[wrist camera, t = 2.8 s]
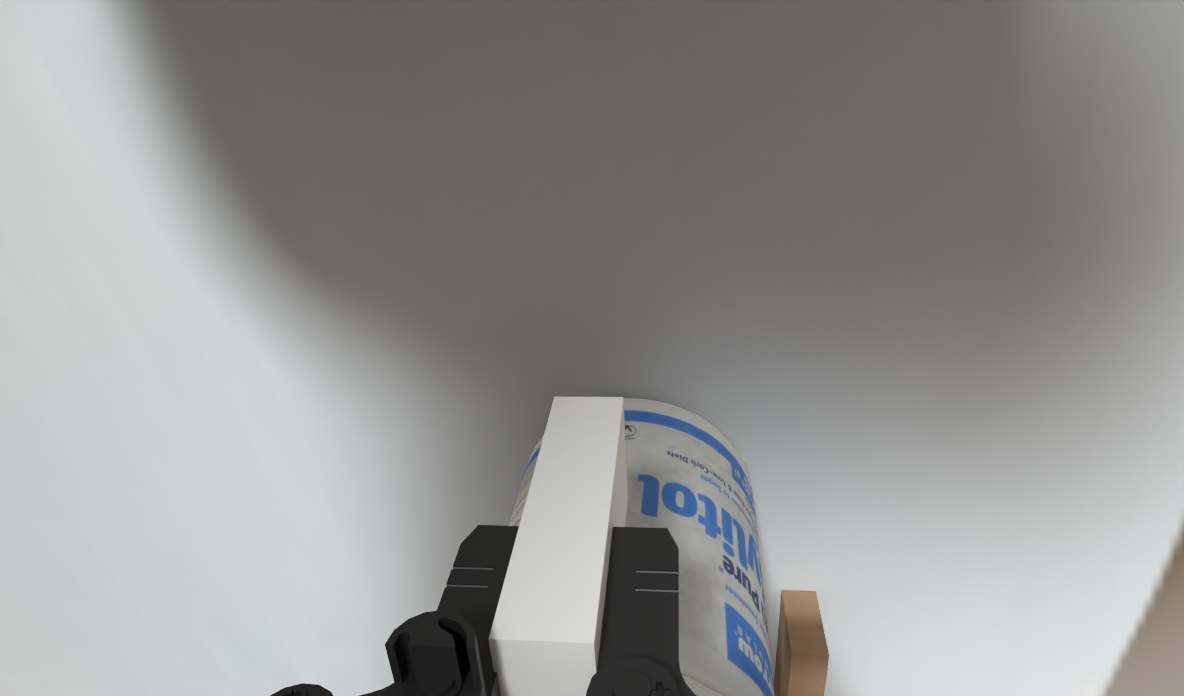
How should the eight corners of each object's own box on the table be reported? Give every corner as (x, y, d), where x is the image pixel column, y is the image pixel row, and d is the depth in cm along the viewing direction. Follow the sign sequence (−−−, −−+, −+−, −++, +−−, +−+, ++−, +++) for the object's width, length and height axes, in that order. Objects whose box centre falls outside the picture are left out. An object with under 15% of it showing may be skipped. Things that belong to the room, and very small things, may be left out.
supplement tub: (795, 456, 31) (877, 821, 19) (672, 595, 36) (670, 968, 23) (589, 346, 30) (521, 659, 17) (487, 505, 34) (372, 850, 21)
